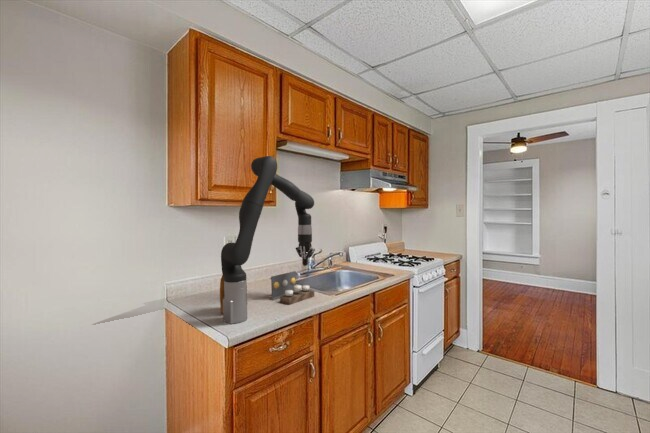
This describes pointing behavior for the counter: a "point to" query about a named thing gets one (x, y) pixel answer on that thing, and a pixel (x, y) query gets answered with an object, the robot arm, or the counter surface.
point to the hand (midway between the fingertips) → (305, 265)
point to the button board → (297, 297)
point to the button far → (305, 287)
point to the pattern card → (282, 284)
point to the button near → (289, 292)
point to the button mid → (297, 287)
